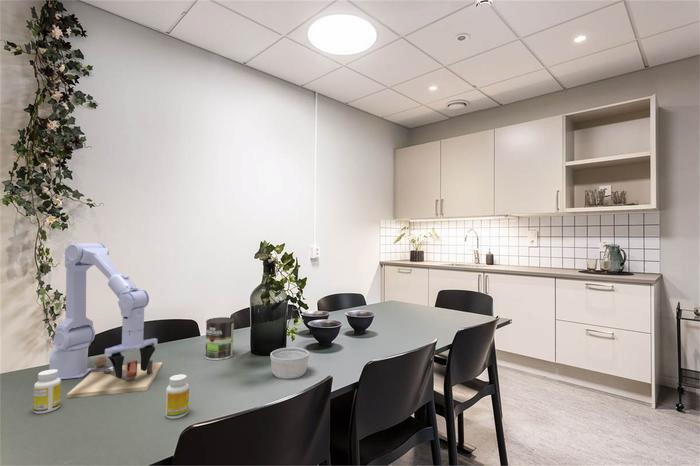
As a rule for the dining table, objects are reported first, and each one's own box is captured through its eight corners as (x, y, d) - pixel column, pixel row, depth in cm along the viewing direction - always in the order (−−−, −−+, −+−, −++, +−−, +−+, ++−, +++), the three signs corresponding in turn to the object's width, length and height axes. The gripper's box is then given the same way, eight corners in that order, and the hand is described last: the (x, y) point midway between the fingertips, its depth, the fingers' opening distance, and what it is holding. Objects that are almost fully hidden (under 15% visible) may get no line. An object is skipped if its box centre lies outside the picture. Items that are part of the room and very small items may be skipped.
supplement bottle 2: (162, 414, 91) (163, 376, 91) (183, 407, 94) (184, 371, 95) (169, 421, 87) (171, 382, 87) (191, 414, 91) (192, 377, 91)
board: (66, 398, 98) (67, 379, 99) (97, 370, 119) (97, 354, 120) (146, 390, 105) (147, 372, 105) (162, 365, 125) (162, 350, 126)
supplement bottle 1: (57, 402, 96) (59, 366, 96) (62, 408, 93) (63, 371, 93) (31, 409, 92) (32, 372, 92) (35, 416, 88) (36, 377, 89)
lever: (101, 371, 115) (102, 354, 115) (115, 367, 118) (115, 351, 118) (126, 382, 106) (127, 364, 106) (140, 378, 110) (141, 360, 110)
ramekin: (314, 368, 125) (314, 349, 125) (299, 383, 112) (299, 361, 112) (280, 364, 128) (281, 345, 129) (262, 378, 116) (263, 357, 116)
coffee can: (223, 361, 131) (224, 323, 131) (199, 359, 133) (200, 321, 134) (238, 353, 141) (239, 318, 141) (215, 351, 143) (216, 316, 144)
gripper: (113, 336, 101) (111, 384, 100) (163, 327, 113) (161, 369, 113) (102, 333, 105) (100, 378, 104) (151, 323, 117) (150, 364, 116)
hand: (131, 373), depth 109 cm, fingers open, 7 cm apart
